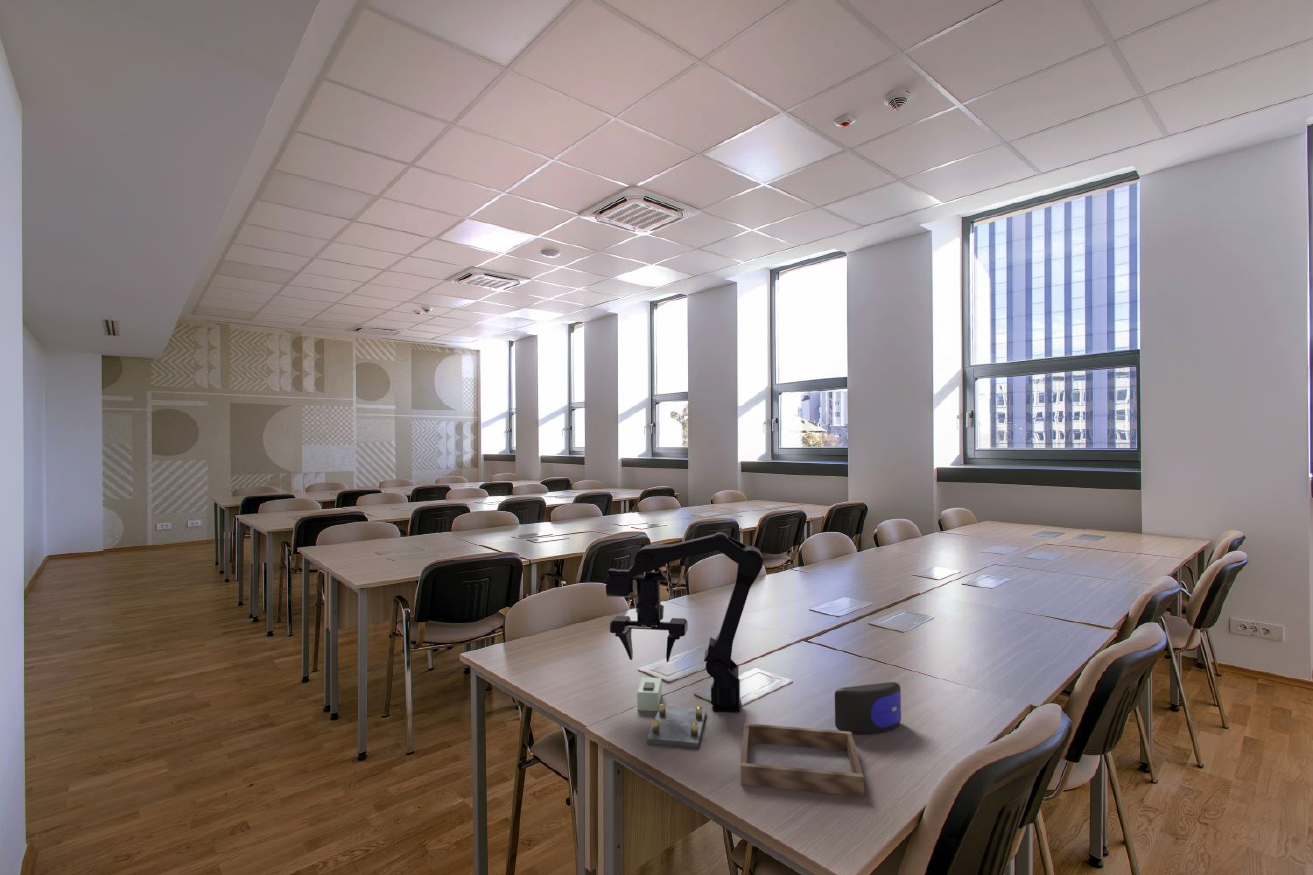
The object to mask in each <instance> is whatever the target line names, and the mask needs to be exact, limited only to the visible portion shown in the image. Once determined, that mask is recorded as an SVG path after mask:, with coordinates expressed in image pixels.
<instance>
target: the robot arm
mask: <svg viewBox="0 0 1313 875" xmlns="http://www.w3.org/2000/svg"><path fill="white" fill-rule="evenodd" d="M716 551H719V552H721V553H722V554H724V555H725V556H726V557H727V558H728V559H730V560H731V561H733V562H734V563H736V564H737V565H736V566H737V567H736V576H735V582H734V585H733V588H732V589H733V590H732V591H731V594H730V598H729V601H728V605H727V607H726V611H725V612H724V613H725V614H724V616H723V620H722V623H721V626H720V630H719V633H718V635H717V636H716V638H714V637H712V636H710V637H709V641H708V646H707V648H706V650H705V653H704V658H703V662H705V670H706V672H707V674H708V675H709V676H710V677H712V678H713V681H712V684H711V685H710V686H711V687H710V704H711V705H712V711H717V712H728V713H729V712H730V713H740V712H741V706H742V705H741V704H742V699H741V679H740V678H739V671H740V670H739V665H738V664H737V663H736V662H735V661H734V660H733V659H732V653H733V652H732V651H733V644H734V640H735V636H736V634H737V631H738V628H739V624H740V621H741V617H742V614H743V611H744V609H745V605H746V603H747V599H748V595H749V593H750V589H751V588H752V586H753V585H754V583H755V582H756V580H757V579H758V576H759V574H760V572H761V571H762V568H763V566H764V560H763V554H762V553H761V550H760V549H759V548H757V547H756V546H753V545H746V544H744V543H742V542H740V541H739V540H736V539H734V538H733V537H731V536H729V535H727V533H725V532H723V531H718V532H715V533H713V534H710V535H706V536H702V537H701V536H700V537H697V538H693V539H688V540H684V541H680V542H675V543H672V544H665V543H663V544H662V543H660V544H659V543H658V544H657V543H656V544H646V545H644V546H642V547H641V548H640V549H639V550H638V552H636V554H635V557H634V563H633V565H632V566H631V567H630V568H629V569H616V568H609V569H608V570H607V577H606V584H605V594H606V597H607V598H608V597H609V598H611V597H612V598H630V597H631V595H632V594H635V593H636V607H635V608H636V609H635V612H636V615H637V616H636V617H637V620H631V617H630V615H616V616H615V617H614V618H613V619H612V620H611V621H610V623H609V633H611V634H614V636H615V637H616V638H617V637H618V639H619V640H620V641H621V643H622V645H623V647H624V650H625V652H626V654H627V656H628V658H629V660H630V661H632V660H633V657H634V653H633V652H634V651H633V642H632V640H633V639H632V631H633V630H632V629H634V630H649V631H650V630H652V631H653V630H654V631H668V636H667V640H666V653H665V654H666V655H665V656H666V658H665V659H666V663H669V662H670V658H671V655H672V651H673V648H674V644H675V642H676V640H680V638H681V637H686V634H687V631H688V628H689V626H688V625H689V624H688V622H689V621H687V619H686V618H684V617H683V618H682V617H672V618H671V619H670V621H662V620H663V619H664V614H665V613H664V611H665V610H664V609H665V608H664V607H665V606H664V605H663V604H661V590H660V589H661V584H660V583H661V582H660V581H666V580H667V579H668V574H666V572H664V571H663V569H662V567H664V566H666V565H668V564H669V563H673V562H674V561H679V560H682V559H683V560H684V559H687V558H691V557H697V556H700V555H705V554H708V553H713V552H716ZM658 569H659V570H658ZM655 570H658V571H655ZM642 573H645V574H642Z"/></svg>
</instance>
